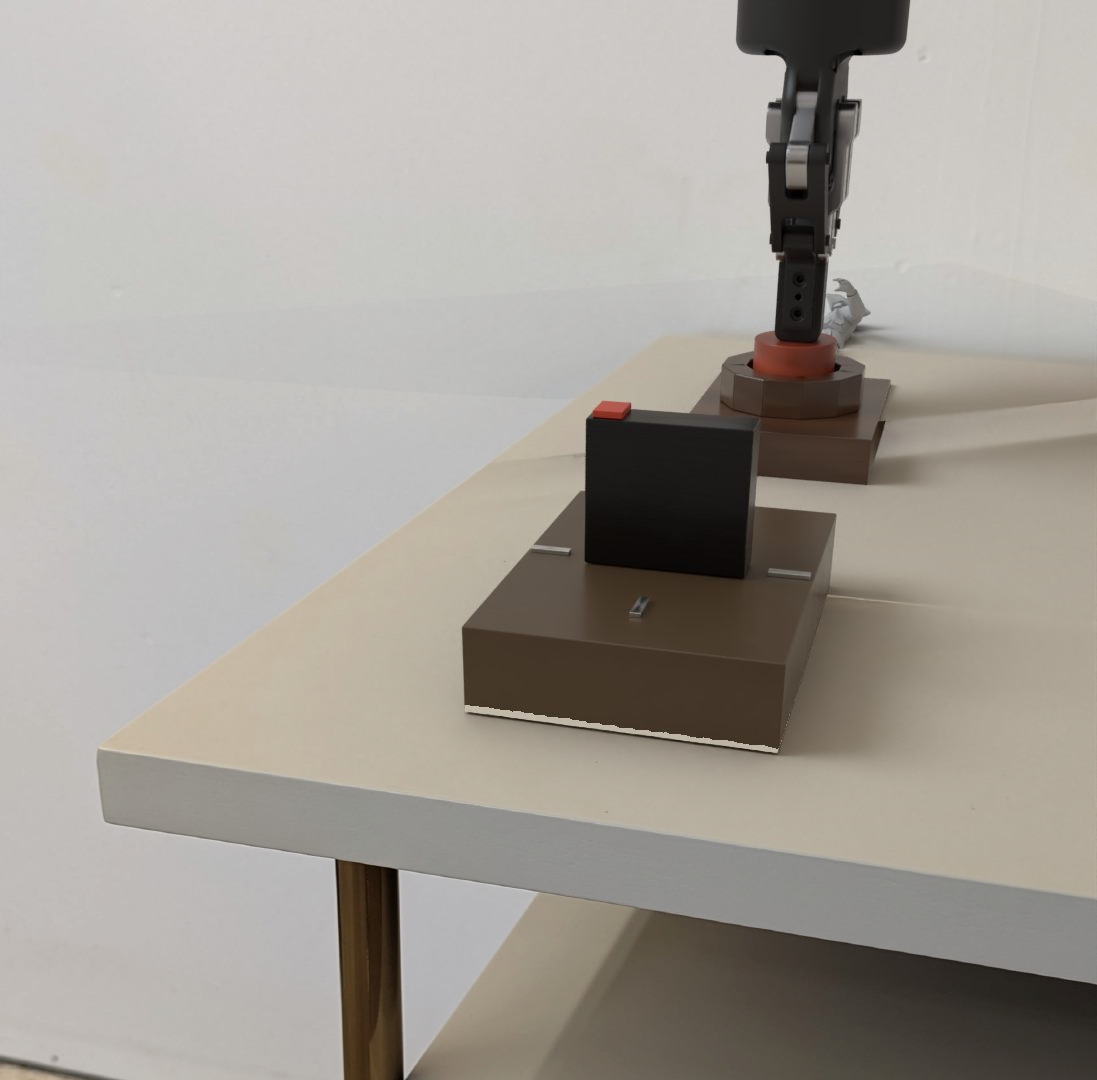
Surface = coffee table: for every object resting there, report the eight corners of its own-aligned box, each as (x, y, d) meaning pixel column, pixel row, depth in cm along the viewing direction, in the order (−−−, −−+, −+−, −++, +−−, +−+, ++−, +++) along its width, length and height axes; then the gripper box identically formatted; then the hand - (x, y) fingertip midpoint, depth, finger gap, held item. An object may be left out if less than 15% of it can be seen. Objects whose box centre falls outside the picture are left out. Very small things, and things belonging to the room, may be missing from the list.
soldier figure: (716, 409, 81) (760, 306, 89) (776, 463, 82) (814, 357, 90) (812, 327, 76) (850, 225, 83) (874, 387, 77) (906, 281, 85)
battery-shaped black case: (751, 562, 48) (761, 410, 45) (743, 579, 46) (754, 423, 44) (595, 547, 49) (597, 398, 47) (583, 562, 48) (585, 410, 45)
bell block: (720, 408, 77) (724, 334, 76) (886, 420, 75) (894, 344, 73) (676, 470, 67) (680, 387, 65) (866, 486, 65) (876, 400, 63)
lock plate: (579, 561, 56) (580, 486, 55) (829, 587, 54) (837, 508, 52) (463, 713, 45) (460, 621, 43) (778, 754, 42) (786, 659, 41)
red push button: (759, 362, 72) (761, 327, 71) (837, 367, 71) (841, 332, 70) (746, 380, 68) (748, 344, 68) (829, 386, 67) (832, 349, 67)
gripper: (763, -61, 67) (742, 309, 75) (716, -72, 56) (698, 365, 64) (923, -64, 65) (885, 316, 73) (909, -76, 54) (865, 374, 62)
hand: (798, 338), depth 69 cm, fingers closed
